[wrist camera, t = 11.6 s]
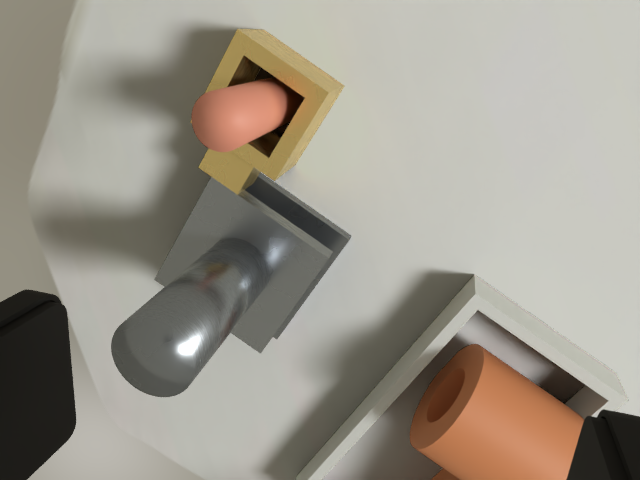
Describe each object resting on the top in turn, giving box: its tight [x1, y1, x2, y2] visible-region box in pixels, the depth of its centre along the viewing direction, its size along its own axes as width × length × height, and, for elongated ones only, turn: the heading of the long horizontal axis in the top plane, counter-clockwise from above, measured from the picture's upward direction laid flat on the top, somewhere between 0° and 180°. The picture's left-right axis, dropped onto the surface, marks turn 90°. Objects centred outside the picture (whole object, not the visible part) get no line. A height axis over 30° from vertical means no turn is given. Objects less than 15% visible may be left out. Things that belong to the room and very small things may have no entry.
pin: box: [192, 77, 303, 152], centre depth 32 cm, size 3×3×10 cm
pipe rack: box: [296, 275, 628, 480], centre depth 41 cm, size 12×24×3 cm, turn 147°
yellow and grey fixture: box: [111, 29, 351, 397], centre depth 32 cm, size 12×18×15 cm
